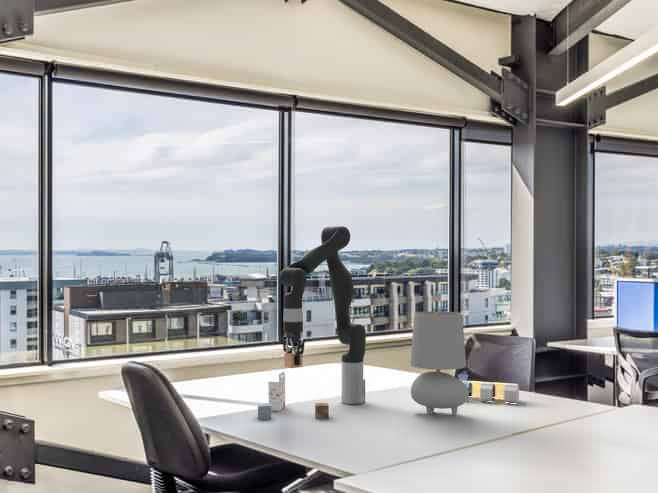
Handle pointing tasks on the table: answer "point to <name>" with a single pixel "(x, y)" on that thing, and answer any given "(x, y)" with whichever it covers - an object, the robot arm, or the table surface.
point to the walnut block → (321, 410)
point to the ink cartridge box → (277, 392)
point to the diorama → (491, 390)
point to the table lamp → (438, 360)
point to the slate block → (264, 411)
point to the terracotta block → (291, 360)
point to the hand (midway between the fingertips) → (293, 364)
